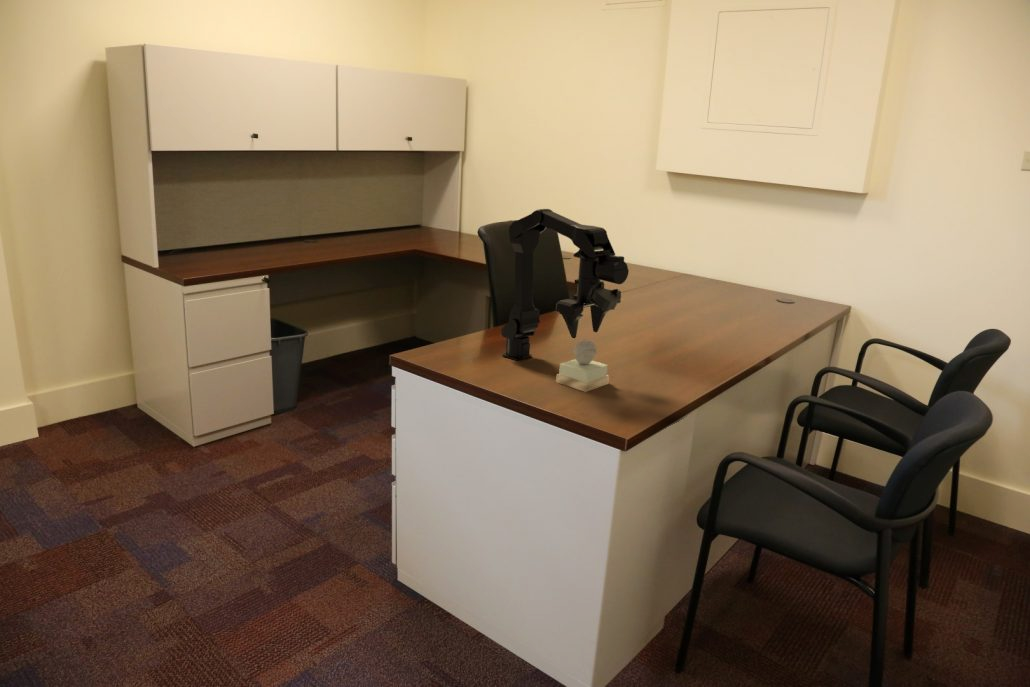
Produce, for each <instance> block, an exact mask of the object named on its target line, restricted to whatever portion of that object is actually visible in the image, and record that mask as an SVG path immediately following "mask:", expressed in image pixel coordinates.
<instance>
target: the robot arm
mask: <svg viewBox="0 0 1030 687" xmlns="http://www.w3.org/2000/svg"><path fill="white" fill-rule="evenodd" d="M508 228H509V229H508V234H509V235H508V236H509V243H510V245H511V246H512V248H513V250H514V252H515V253H514V255H515V259H514V260H515V267H514V269H515V270H514V271H515V273H514V276H515V277H514V281H515V283H514V304H513V306H512V307H511V310H510V311H509V314H508V315H509V316H508V322H507V323H506V324H505V325H504V326H503V327H502V328H501V329H500V332H501V333H500V334H501V336H502V337H503V338H505V339H506V341H505V342H506V344H505V346H506V347H505V352H504V353H502V354H501V355H502V356H503V357H505V358H508V359H512V360H514V361H521V360H525V359H528V358H529V359H530V358H532V357H533V355H532V354H530V352H531V351H530V350H531V349H530V348H531V343H530V337H533V336H535V333H536V330H537V329H538V327H539V324H540V323H541V320H540V314H541V313H540V312H541V311H540V309H539V308H536V307H535V304H534V302H533V291H534V290H533V287H534V285H533V284H534V280H533V279H534V276H533V275H534V274H533V273H534V270H533V269H534V252H535V251H536V248H537V246H538V244H539V241H540V234H541V233H543V232H545V231H546V230H547V229H549V230H551V231H553V232H555V233H558V234H559V235H561V236H564V237H566V238H568V239H569V240H571V241H572V243H573V245H574V246H575V247H577V248H578V250H577V251H576V252H575V253H573V257H574V258H578V259H579V264H578V276H577V277H578V278H577V279H574V284H575V285H577V288H576V289H577V291H576V294H574V295H573V298H572V299H570V298H565V299H562V300H561V299H560V300H559V301H557V302H556V305H555V311H556V312H558V314H559V315H561V317H562V319H563V320H564V322H565V325H566V327H567V330H568V332H569V335H570V337H571V338H572V339H576V337H577V334H578V329H579V328H578V327H579V321H580V319H581V318H582V317H584V314H583V312H584V309H585V308H588V307H589V308H590V318H591V326H592V332H594V333H596V334H597V333H598V332H599V329H600V328H601V325H602V322H603V320H604V318H605V316H606V314H607V313H609V312H610V311H611V310H612V311H613V310H614V311H615V309H616V307H617V304H621V301H622V300H621V298H622V291H621V290H620V289H618V288H615V289H612V290H610V289H606V288H605V282H608V283H612V284H616V285H623V283H625V282H626V280H627V279H628V275H629V268H628V267H629V266H628V264H627V263H626V262H625V257H624V256H621V255H616V253H615V250H614V248H613V245H612V243H611V241H610V238H609V236H608V232H607V230H606V229H605V228H603V227H600V226H595V225H588V224H587V225H586V224H581V223H579V222H576V221H574V220H572V219H571V218H567V217H566V216H564V215H561V214H558V213H556V212H554V210H552V209H550V208H539V209H536V210H534V211H533V212H532V213H529V214H528V215H526V216H524V217H522V218H520V219H518V220H514V221H513V222H512V223H511V224H510V225H509V227H508Z"/></svg>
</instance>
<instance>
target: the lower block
mask: <svg viewBox="0 0 1030 687" xmlns="http://www.w3.org/2000/svg"><path fill="white" fill-rule="evenodd" d="M555 376H556V377H555V382H556V383H557V384H561V385H563V386H566V387H569V388H573V389H576V390H578V391H582V392H585V393H588V392H590V391H593V390H595V389H598V388H601V387H603V386H606V385H608V384H609V383H610V375H608V374H607V376H605V377H602V378H599V379H596V380H594V381H591V382H588V383H584V382H581V381H578V380H575V379H572V378H569V377H565V376H562V375H559V373H557V374H556V375H555Z"/></svg>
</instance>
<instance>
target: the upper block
mask: <svg viewBox="0 0 1030 687" xmlns="http://www.w3.org/2000/svg"><path fill="white" fill-rule="evenodd" d="M558 368H559V371H558V372H559V373H558V374H559V375H562V376H565V377H569V378H572V379H575V380H578V381H581V382H584V383H588V382H591V381H594V380H596V379H599V378H602V377H605V376H607V375H608V364H606V363H603V362H602V363H601V362H599V361H595V360H592V361H591V362H590V363H588V364H580V363H579V362H578V361H577V360H576V358H574V359H571V360H568V361H563V362H561V363H559V367H558Z"/></svg>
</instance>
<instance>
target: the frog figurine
mask: <svg viewBox="0 0 1030 687" xmlns="http://www.w3.org/2000/svg"><path fill="white" fill-rule="evenodd" d="M597 352H598V351H597V346H596V344H595V342H594V340H590V339H588V338H585V339H582V340H581V341H579V342H578V343H577V344H576V345H575V346H574V347H573V355H574V359H576V360H577V361H578V362H579V363H580V364H588V363H590V362H591V361H594V358H595V355H596V354H597Z"/></svg>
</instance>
